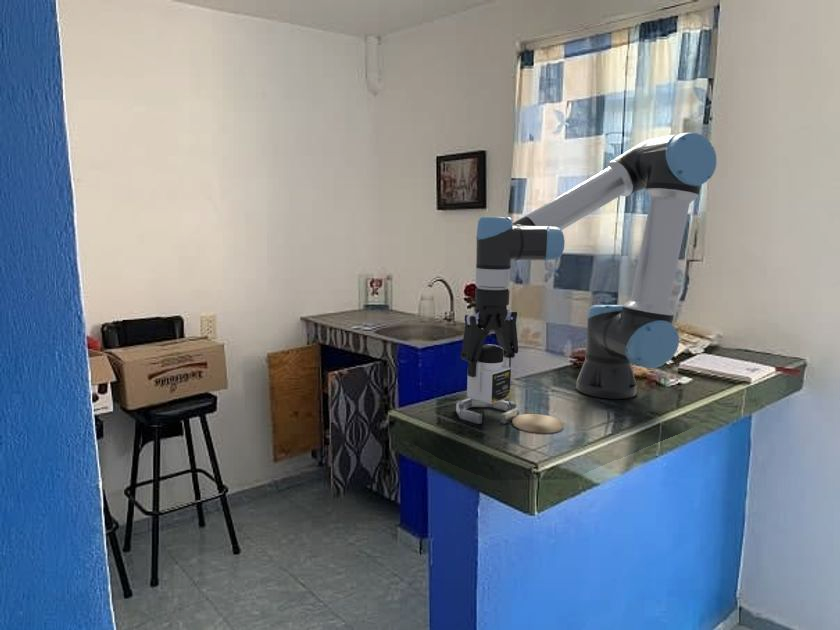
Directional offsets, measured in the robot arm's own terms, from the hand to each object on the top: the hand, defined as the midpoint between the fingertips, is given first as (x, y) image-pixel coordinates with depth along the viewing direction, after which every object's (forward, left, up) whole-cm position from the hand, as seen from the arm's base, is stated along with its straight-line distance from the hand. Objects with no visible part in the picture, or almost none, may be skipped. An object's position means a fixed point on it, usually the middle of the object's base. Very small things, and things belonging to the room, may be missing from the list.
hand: (489, 387), depth 141 cm
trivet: (-10, +7, -6) cm, 14 cm away
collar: (0, 0, -6) cm, 6 cm away
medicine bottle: (0, 0, -3) cm, 3 cm away
